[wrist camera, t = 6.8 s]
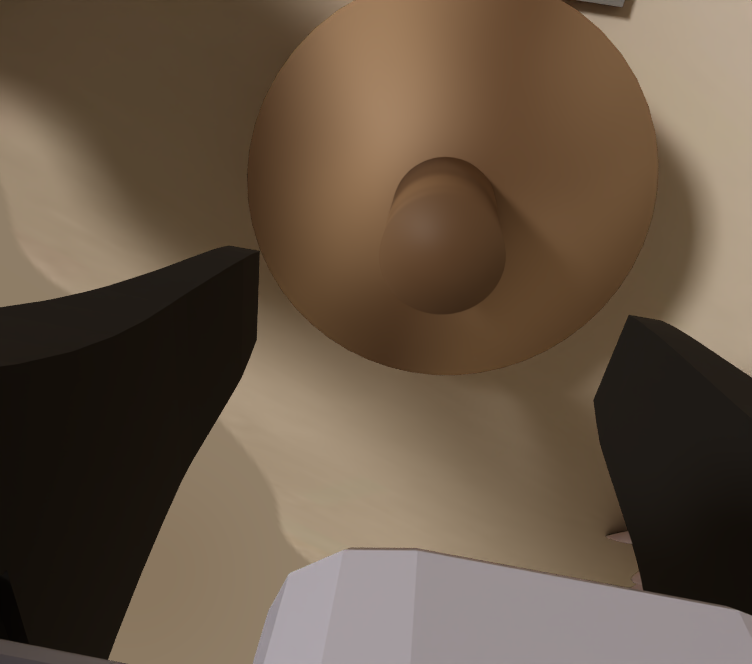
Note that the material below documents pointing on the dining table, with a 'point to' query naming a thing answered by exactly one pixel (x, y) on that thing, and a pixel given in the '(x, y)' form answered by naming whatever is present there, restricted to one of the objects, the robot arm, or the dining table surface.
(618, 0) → the mat
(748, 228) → the dining table surface
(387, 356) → the lid
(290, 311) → the dining table surface
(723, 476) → the robot arm
